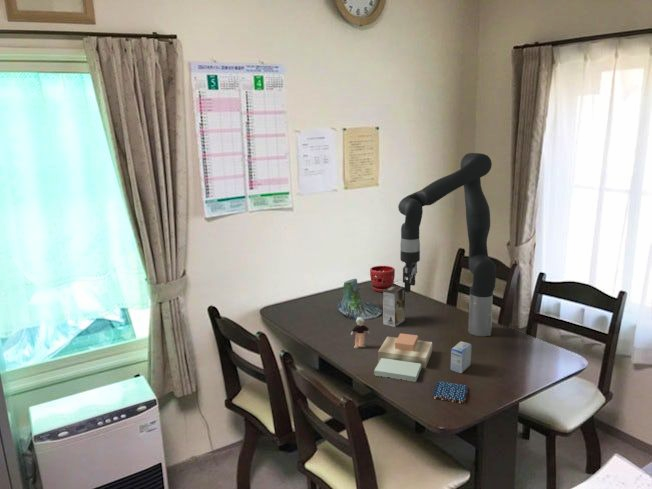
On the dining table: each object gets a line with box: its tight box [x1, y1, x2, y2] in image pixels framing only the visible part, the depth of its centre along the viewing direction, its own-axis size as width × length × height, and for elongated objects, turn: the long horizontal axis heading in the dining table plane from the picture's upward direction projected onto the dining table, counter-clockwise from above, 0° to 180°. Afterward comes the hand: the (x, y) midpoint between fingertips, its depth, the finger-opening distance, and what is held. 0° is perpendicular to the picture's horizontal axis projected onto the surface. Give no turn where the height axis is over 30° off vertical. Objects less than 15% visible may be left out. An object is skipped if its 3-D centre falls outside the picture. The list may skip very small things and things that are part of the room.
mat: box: [373, 358, 422, 383], centre depth 179 cm, size 15×10×2 cm, turn 69°
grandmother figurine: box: [350, 317, 371, 349], centre depth 199 cm, size 8×4×13 cm, turn 105°
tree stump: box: [337, 278, 383, 321], centre depth 235 cm, size 19×21×19 cm
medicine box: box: [450, 341, 472, 374], centre depth 180 cm, size 8×4×9 cm, turn 141°
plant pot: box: [369, 265, 396, 293], centre depth 266 cm, size 13×13×12 cm
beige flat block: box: [377, 336, 433, 369], centre depth 190 cm, size 18×14×4 cm
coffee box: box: [382, 284, 406, 328], centre depth 221 cm, size 9×6×16 cm
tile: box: [395, 332, 419, 351], centre depth 191 cm, size 7×9×2 cm
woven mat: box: [432, 380, 469, 404], centre depth 164 cm, size 10×11×2 cm
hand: (410, 288), depth 197 cm, fingers open, 8 cm apart
